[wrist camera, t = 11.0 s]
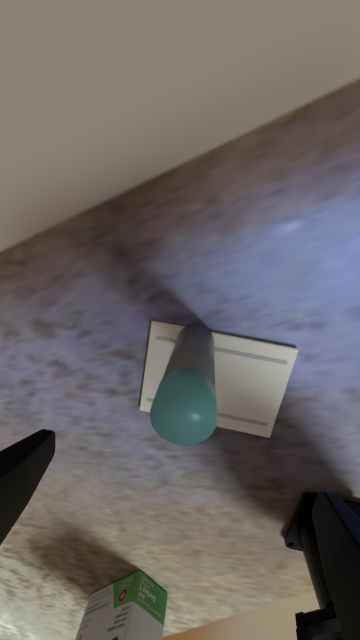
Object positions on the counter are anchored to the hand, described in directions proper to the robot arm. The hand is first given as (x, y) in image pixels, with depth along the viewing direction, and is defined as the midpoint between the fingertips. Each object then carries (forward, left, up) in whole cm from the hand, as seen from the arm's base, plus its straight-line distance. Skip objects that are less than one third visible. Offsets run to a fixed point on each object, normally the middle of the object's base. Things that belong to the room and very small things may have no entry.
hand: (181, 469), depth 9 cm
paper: (-3, -2, -12) cm, 12 cm away
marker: (0, 0, -12) cm, 12 cm away
